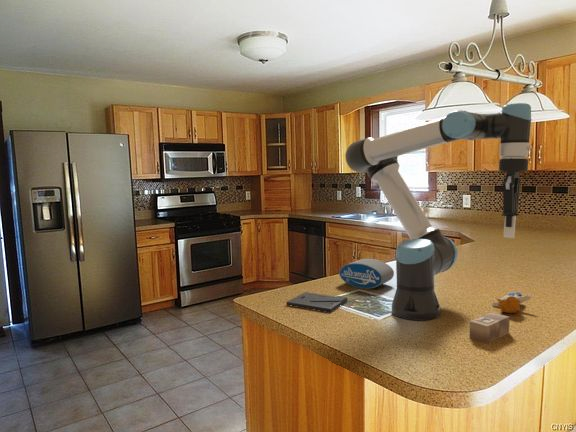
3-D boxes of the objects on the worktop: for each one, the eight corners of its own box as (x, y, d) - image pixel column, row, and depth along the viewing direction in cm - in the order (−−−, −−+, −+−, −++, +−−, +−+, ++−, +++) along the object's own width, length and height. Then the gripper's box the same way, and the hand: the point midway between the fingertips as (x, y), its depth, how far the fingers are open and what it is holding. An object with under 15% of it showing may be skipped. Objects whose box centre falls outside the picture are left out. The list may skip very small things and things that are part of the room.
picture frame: (347, 303, 149) (305, 296, 159) (347, 297, 149) (305, 291, 158) (330, 314, 138) (286, 307, 147) (330, 308, 138) (286, 301, 147)
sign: (394, 285, 167) (393, 261, 165) (382, 291, 159) (382, 266, 158) (352, 279, 179) (351, 256, 178) (339, 284, 172) (338, 260, 171)
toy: (530, 285, 137) (523, 292, 125) (537, 303, 136) (531, 311, 124) (493, 293, 144) (483, 300, 132) (500, 310, 142) (491, 319, 130)
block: (491, 311, 119) (469, 320, 112) (509, 315, 114) (487, 325, 108) (491, 328, 119) (469, 338, 113) (509, 333, 115) (487, 344, 109)
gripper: (524, 157, 113) (518, 241, 116) (532, 158, 123) (527, 235, 126) (494, 158, 118) (489, 239, 121) (504, 158, 128) (500, 233, 131)
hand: (508, 237), depth 123 cm, fingers closed
